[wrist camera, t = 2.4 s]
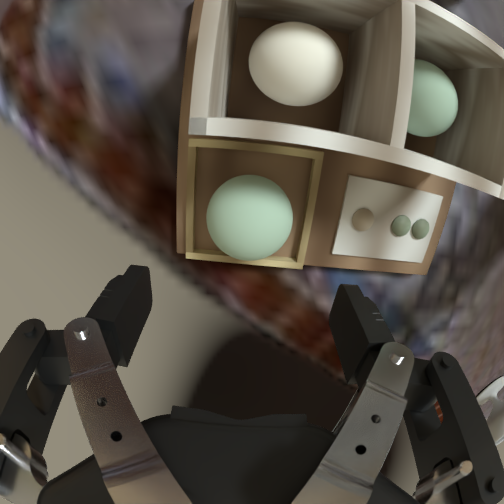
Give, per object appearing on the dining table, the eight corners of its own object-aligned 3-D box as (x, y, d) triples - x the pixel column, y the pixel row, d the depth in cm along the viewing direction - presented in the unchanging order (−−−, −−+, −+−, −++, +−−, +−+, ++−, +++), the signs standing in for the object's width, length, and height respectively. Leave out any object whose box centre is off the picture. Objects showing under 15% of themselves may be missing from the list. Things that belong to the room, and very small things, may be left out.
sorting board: (462, 62, 16) (537, 60, 7) (419, 267, 27) (469, 330, 17) (199, -4, 15) (165, -66, 6) (180, 245, 26) (144, 319, 16)
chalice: (467, 399, 43) (488, 446, 30) (510, 363, 39) (536, 407, 26) (469, 412, 48) (486, 452, 35) (508, 382, 44) (528, 420, 30)
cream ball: (332, 43, 16) (359, 22, 11) (325, 113, 19) (350, 113, 13) (253, 31, 16) (253, 2, 10) (245, 102, 19) (241, 97, 13)
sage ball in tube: (432, 77, 16) (476, 75, 11) (424, 140, 19) (467, 152, 14) (372, 54, 16) (408, 40, 11) (364, 122, 19) (400, 127, 14)
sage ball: (292, 172, 21) (306, 192, 16) (282, 241, 24) (289, 281, 18) (215, 164, 21) (201, 182, 15) (211, 235, 24) (198, 272, 18)
